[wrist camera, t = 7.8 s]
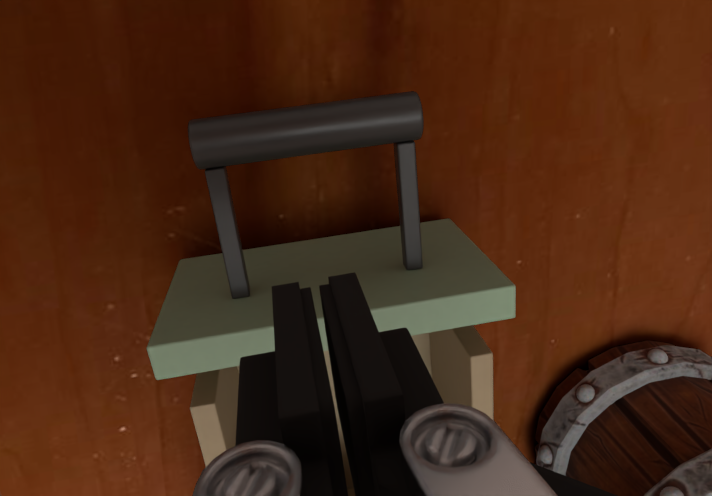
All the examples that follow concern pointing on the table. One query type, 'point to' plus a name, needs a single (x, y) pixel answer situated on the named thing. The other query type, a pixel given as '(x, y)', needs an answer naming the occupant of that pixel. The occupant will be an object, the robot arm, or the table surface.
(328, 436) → the robot arm
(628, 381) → the mug
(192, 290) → the drawer
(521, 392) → the table surface
